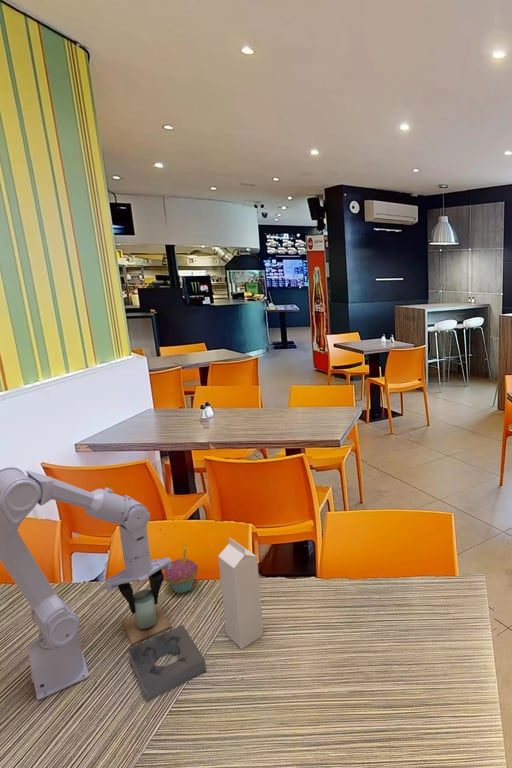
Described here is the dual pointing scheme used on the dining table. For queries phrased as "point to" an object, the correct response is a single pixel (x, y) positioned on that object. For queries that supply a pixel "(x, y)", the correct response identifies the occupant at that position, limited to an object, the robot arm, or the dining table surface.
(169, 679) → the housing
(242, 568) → the milk
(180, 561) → the cupcake
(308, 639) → the dining table surface
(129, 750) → the dining table surface
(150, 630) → the coaster
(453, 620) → the dining table surface
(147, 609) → the cylinder
